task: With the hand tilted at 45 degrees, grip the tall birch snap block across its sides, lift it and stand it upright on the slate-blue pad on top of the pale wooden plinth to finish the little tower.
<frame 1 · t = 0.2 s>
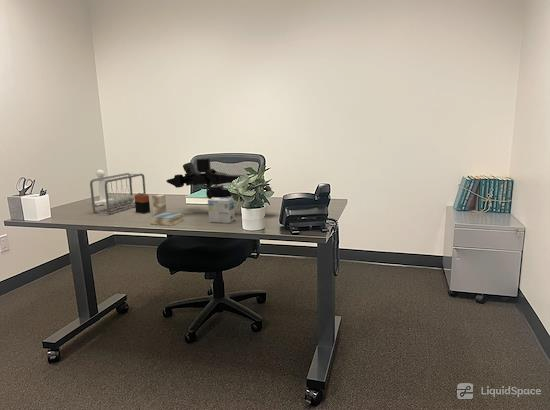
hand: (171, 180, 210), 16 cm above the table, tool horizontal, fingers open, 9 cm apart
light bulb box: (221, 221, 192), on the table
battery: (143, 212, 213), on the table
newton's cradle: (121, 209, 222), on the table
birch snap block: (160, 214, 207), on the table
joystick: (105, 204, 233), on the table
foundation plinth: (167, 222, 191), on the table
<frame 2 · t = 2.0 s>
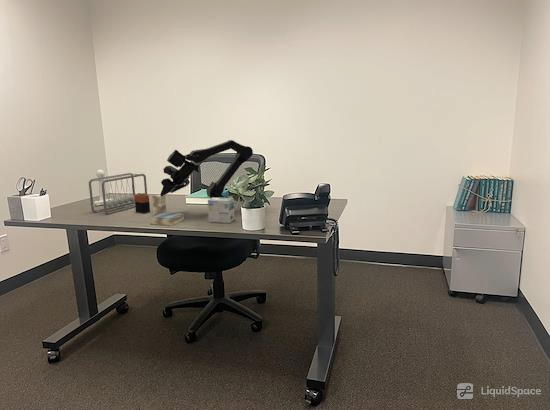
hand: (166, 193, 203), 11 cm above the table, tool tilted 45°, fingers open, 9 cm apart
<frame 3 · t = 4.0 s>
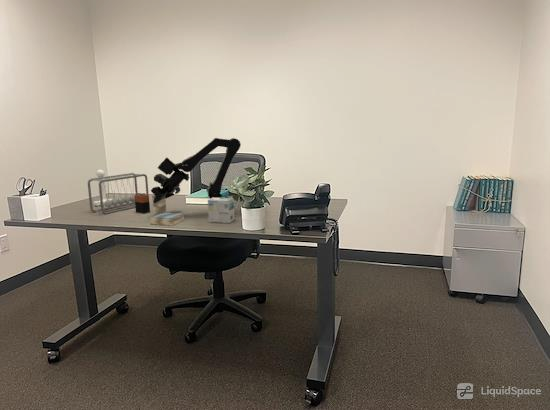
hand: (156, 201, 206), 7 cm above the table, tool tilted 45°, fingers closed on birch snap block, 5 cm apart
birch snap block: (160, 214, 207), on the table, touching gripper
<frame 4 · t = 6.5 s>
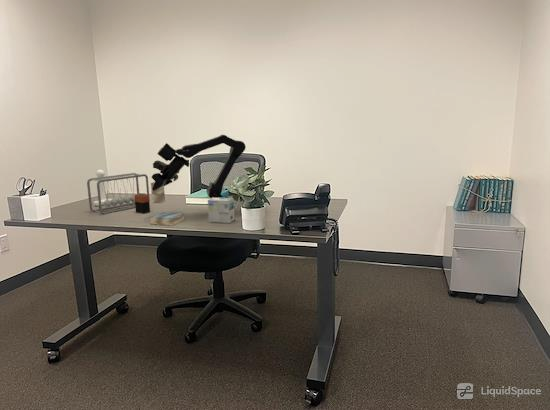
hand: (155, 189, 201), 13 cm above the table, tool tilted 45°, fingers closed on birch snap block, 5 cm apart
birch snap block: (158, 202, 202), point 7 cm above the table, touching gripper
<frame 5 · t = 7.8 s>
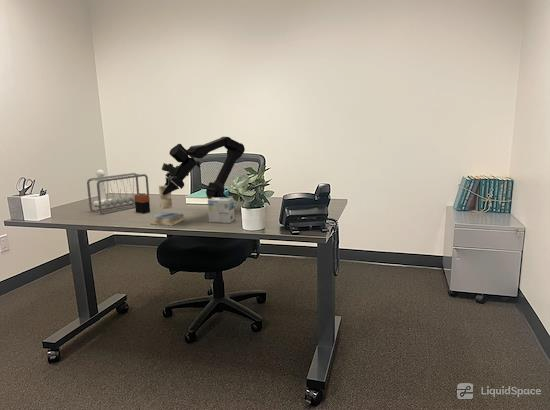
hand: (162, 193, 188), 14 cm above the table, tool tilted 45°, fingers closed on birch snap block, 5 cm apart
birch snap block: (166, 207, 190), point 7 cm above the table, touching gripper
when the fingers open (11 cm above the table, at t = 9.0 s): birch snap block stays where it is, resting on foundation plinth.
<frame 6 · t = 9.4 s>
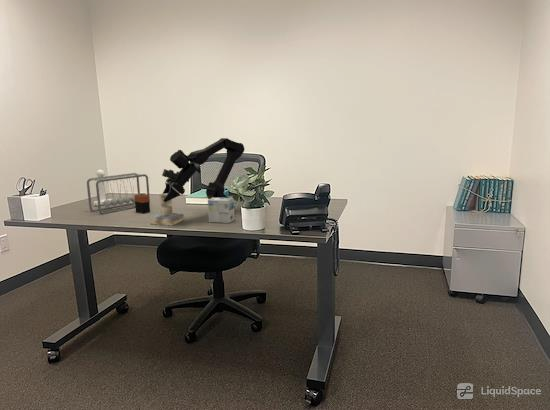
hand: (162, 199, 188), 11 cm above the table, tool tilted 45°, fingers open, 9 cm apart
birch snap block: (166, 215, 190), point 3 cm above the table, touching foundation plinth
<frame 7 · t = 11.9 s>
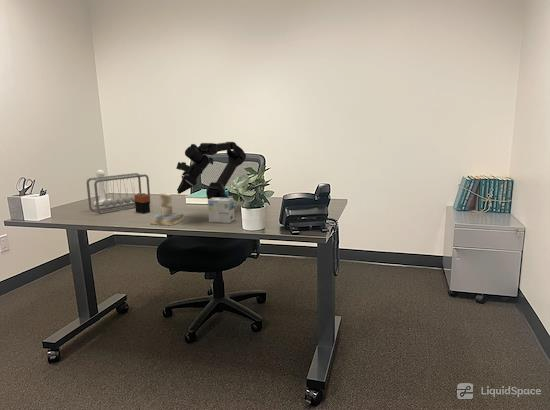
hand: (177, 192, 192), 13 cm above the table, tool tilted 40°, fingers open, 9 cm apart
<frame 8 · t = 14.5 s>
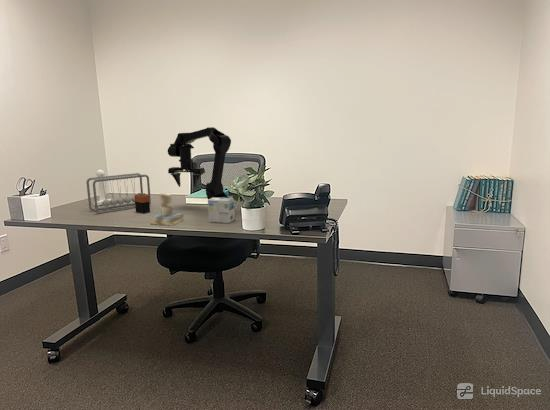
hand: (187, 186, 216), 12 cm above the table, tool pointing down, fingers open, 9 cm apart
at the end: birch snap block inside the target area on the foundation plinth (0.1 cm from its centre), point 3.2 cm above the foundation plinth's base; birch snap block tilted 0°; the gripper is holding nothing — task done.
